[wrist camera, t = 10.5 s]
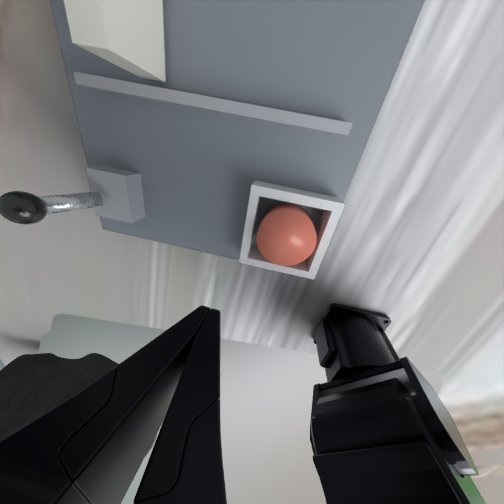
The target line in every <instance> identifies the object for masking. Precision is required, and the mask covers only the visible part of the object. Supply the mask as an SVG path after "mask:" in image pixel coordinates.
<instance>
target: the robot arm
mask: <svg viewBox="0 0 504 504" xmlns="http://www.w3.org/2000/svg"><path fill="white" fill-rule="evenodd" d="M334 308H336V309H334ZM390 323H391V320H390V318H389V317H388V316H385V315H381V314H376V313H372V312H368V311H363V310H359V309H355V308H351V307H346V306H342V305H338V304H332V305H330V307H329V309H328V311H327V313H326V315H325V317H324V318H323V319H322V320H321V321H320V323H319V325H318V327H317V329H316V331H315V336H314V339H313V340H314V343H315V344H317V350H318V356H319V362H320V365H321V366H322V367H324V368H325V371H326V376H327V381H328V382H326V383H323V384H316V385H314V390H313V402H312V413H311V423H310V441H311V444H312V449H313V453H314V455H313V461H314V464H315V467H316V469H317V472H318V475H319V477H320V480H321V484H322V487H323V491H324V495H325V498H326V503H327V504H486V503H485V501H484V499H483V498H482V496H481V494H480V493H479V491H478V489H477V488H476V486H475V484H474V482H473V481H472V479H471V477H470V476H469V475H479V473H478V471H477V468H476V466H475V464H474V462H473V460H472V458H471V456H470V454H469V452H468V450H467V448H466V445H465V443H464V441H463V439H462V437H461V435H460V433H459V431H458V429H457V427H456V425H455V423H454V420H453V419H452V417H451V415H450V414H449V412H448V411H447V409H446V408H445V406H444V405H443V403H442V402H441V400H440V399H439V397H438V396H437V394H436V393H435V391H434V389H433V388H432V387H431V385H430V384H429V383H428V382H427V381H426V379H425V378H424V377H423V376H422V374H421V373H420V372H419V371H418V370H417V369H416V367H415V366H414V365H413V364H412V363H411V361H410V360H409V359H408V358H407V357H404V358H401V359H399V357H398V355H397V354H396V352H395V350H394V348H393V346H392V345H391V343H390V341H389V339H388V337H387V336H386V334H385V332H384V331H385V330H386V328H387V327H388V326H389V324H390ZM162 423H163V424H162ZM161 425H162V427H161V429H160V432H159V435H158V437H157V440H156V442H155V445H154V448H153V451H152V453H151V456H150V458H149V461H148V464H147V467H146V469H145V472H144V475H143V477H142V480H141V483H140V485H139V488H138V491H137V493H136V496H135V498H134V504H227V501H226V491H225V481H224V471H223V461H222V448H221V432H220V311H219V310H216V309H210V308H209V307H206V306H200V307H198V308H197V309H195V310H194V311H193V312H191V313H190V314H189V315H187V316H186V317H184V318H183V319H182V320H180V321H179V322H177V323H176V324H175V325H173V326H172V327H170V328H169V329H168V330H166V331H165V332H164V333H162V334H161V335H159V336H158V337H157V338H155V339H154V340H152V341H151V342H150V343H148V344H147V345H145V346H144V347H143V348H141V349H140V350H139V351H137V352H136V353H134V354H133V355H132V356H130V357H129V358H127V359H126V360H125V361H123V362H122V363H120V364H119V365H118V366H117V368H116V367H115V368H113V369H112V370H110V371H109V372H108V373H106V374H105V375H104V376H102V377H101V378H99V379H98V380H96V381H95V382H93V383H92V384H91V385H89V386H88V387H86V388H85V389H83V390H82V391H80V392H79V393H77V394H76V395H74V396H73V397H71V398H69V399H68V400H66V401H65V402H63V403H62V404H60V405H58V406H57V407H55V408H54V409H52V410H50V411H49V412H47V413H46V414H44V415H42V416H41V417H39V418H37V419H36V420H34V421H33V422H31V423H29V424H28V425H26V426H24V427H23V428H21V429H20V430H18V431H16V432H15V433H13V434H12V435H10V436H8V437H7V438H5V439H3V440H2V441H0V504H121V502H122V500H123V498H124V496H125V494H126V492H127V490H128V488H129V486H130V484H131V482H132V481H133V479H134V477H135V475H136V473H137V471H138V469H139V467H140V465H141V463H142V461H143V459H144V457H145V455H146V453H147V452H148V450H149V448H150V446H151V444H152V442H153V440H154V438H155V436H156V434H157V432H158V430H159V428H160V426H161Z"/></svg>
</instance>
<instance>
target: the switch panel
mask: <svg viewBox="0 0 504 504" xmlns="http://www.w3.org/2000/svg"><path fill="white" fill-rule="evenodd" d="M424 1H425V0H163V24H164V50H165V75H166V82H161V81H155V80H150V79H144V78H140V77H138V76H136V75H135V74H133V73H131V72H129V71H127V70H125V69H123V68H121V67H119V66H117V65H115V64H113V63H111V62H109V61H107V60H105V59H103V58H101V57H99V56H97V55H95V54H93V53H92V52H90V51H88V50H86V49H84V48H82V47H80V46H78V45H76V44H74V43H72V38H71V34H70V29H69V24H68V19H67V14H66V9H65V5H64V0H50V2H51V7H52V11H53V15H54V20H55V24H56V28H57V33H58V37H59V41H60V46H61V50H62V54H63V59H64V63H65V67H66V72H67V76H68V81H69V85H70V89H71V94H72V98H73V102H74V107H75V111H76V115H77V120H78V124H79V128H80V133H81V137H82V141H83V146H84V150H85V154H86V159H87V163H88V167H86V172H87V176H88V180H89V185H90V189H91V192H102V193H104V194H105V195H106V196H107V198H108V202H107V204H105V205H103V206H97V207H95V210H96V214H97V216H100V220H101V224H102V228H103V229H105V230H109V231H113V232H118V233H122V234H127V235H131V236H135V237H140V238H144V239H149V240H153V241H158V242H162V243H166V244H171V245H175V246H180V247H184V248H189V249H193V250H197V251H202V252H206V253H211V254H215V255H219V256H224V257H228V258H233V259H237V260H239V263H242V264H247V265H251V266H255V267H260V268H264V269H269V270H273V271H277V272H282V273H286V274H291V275H295V276H300V277H304V278H308V279H313V280H314V279H315V276H316V274H317V271H318V269H319V266H320V264H321V262H322V259H323V257H324V254H325V252H326V249H327V247H328V245H329V242H330V240H331V237H332V235H333V233H334V230H335V228H336V225H337V223H338V220H339V218H340V216H341V213H342V211H343V208H344V206H345V203H344V202H343V201H344V198H345V196H346V193H347V191H348V188H349V186H350V184H351V181H352V179H353V176H354V174H355V171H356V169H357V166H358V164H359V161H360V159H361V156H362V154H363V151H364V149H365V147H366V144H367V142H368V139H369V137H370V134H371V132H372V129H373V127H374V124H375V122H376V119H377V117H378V114H379V112H380V110H381V107H382V105H383V102H384V100H385V97H386V95H387V92H388V90H389V87H390V85H391V82H392V80H393V77H394V75H395V72H396V70H397V68H398V65H399V63H400V60H401V58H402V55H403V53H404V50H405V48H406V45H407V43H408V40H409V38H410V35H411V33H412V31H413V28H414V26H415V23H416V21H417V18H418V16H419V13H420V11H421V8H422V6H423V3H424ZM280 203H294V204H297V205H299V206H301V207H302V208H304V209H305V210H306V211H307V213H308V214H309V216H310V218H311V220H312V223H313V225H314V228H315V231H316V235H317V241H316V246H315V249H314V251H313V252H312V254H311V255H310V256H309V257H308V258H307V259H306V260H304V261H303V262H301V263H298V264H296V265H291V266H281V265H277V264H274V263H272V262H270V261H268V260H267V259H266V258H265V257H264V256H263V255H262V254H261V252H260V251H259V249H258V246H257V233H258V229H259V226H260V223H261V220H262V218H263V216H264V214H265V213H266V212H267V211H268V210H269V209H270V208H271V207H273V206H275V205H277V204H280Z"/></svg>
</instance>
